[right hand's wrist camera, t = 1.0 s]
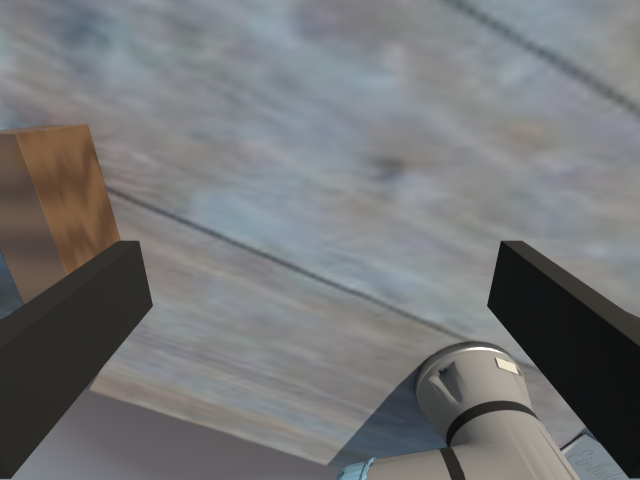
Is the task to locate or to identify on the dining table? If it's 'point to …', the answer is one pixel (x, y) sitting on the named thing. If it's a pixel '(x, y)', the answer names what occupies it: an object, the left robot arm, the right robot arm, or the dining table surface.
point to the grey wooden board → (592, 460)
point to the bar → (51, 205)
